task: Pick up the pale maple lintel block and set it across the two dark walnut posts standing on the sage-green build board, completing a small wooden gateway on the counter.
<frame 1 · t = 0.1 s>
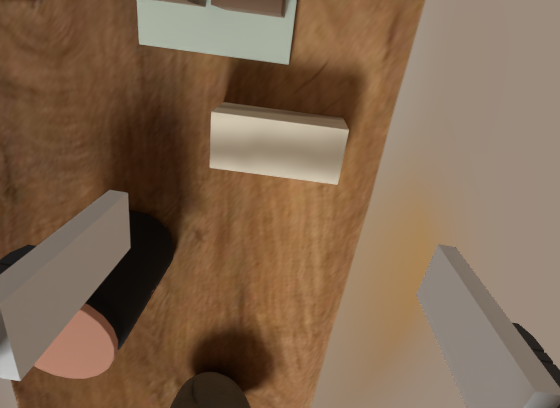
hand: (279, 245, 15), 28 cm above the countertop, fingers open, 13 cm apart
lintel: (280, 134, 41), on the countertop
coffee jar: (140, 240, 49), on the countertop
dark grey round piece: (221, 380, 61), on the countertop
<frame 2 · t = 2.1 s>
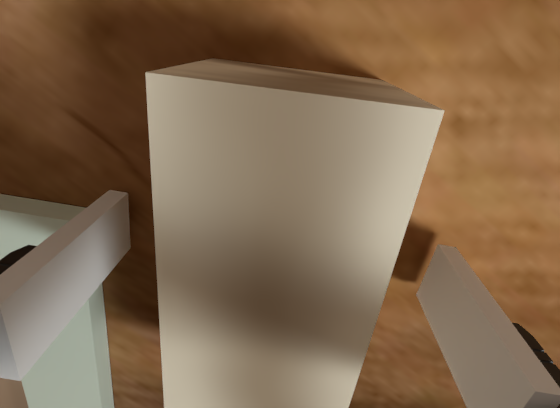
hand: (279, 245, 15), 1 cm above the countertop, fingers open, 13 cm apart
lintel: (276, 235, 15), on the countertop
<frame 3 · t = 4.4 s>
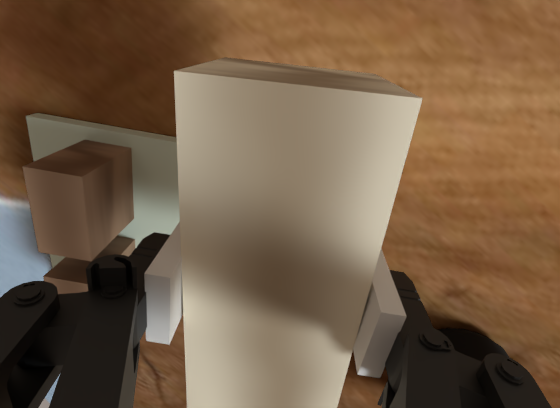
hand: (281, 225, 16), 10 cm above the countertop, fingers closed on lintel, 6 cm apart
lintel: (282, 218, 17), point 10 cm above the countertop, touching gripper
board: (121, 218, 29), on the countertop
post a: (116, 264, 30), point 1 cm above the countertop, touching board
coffee jar: (445, 361, 33), on the countertop
post b: (110, 180, 26), point 1 cm above the countertop, touching board
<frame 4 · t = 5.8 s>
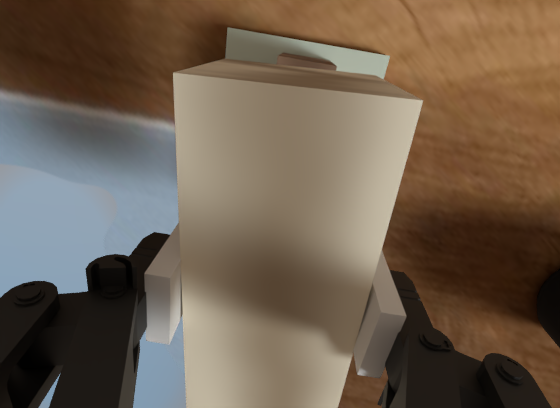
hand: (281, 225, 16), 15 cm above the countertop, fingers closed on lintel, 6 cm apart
lintel: (282, 220, 17), point 14 cm above the countertop, touching gripper
board: (290, 143, 29), on the countertop
post b: (299, 97, 26), point 1 cm above the countertop, touching board
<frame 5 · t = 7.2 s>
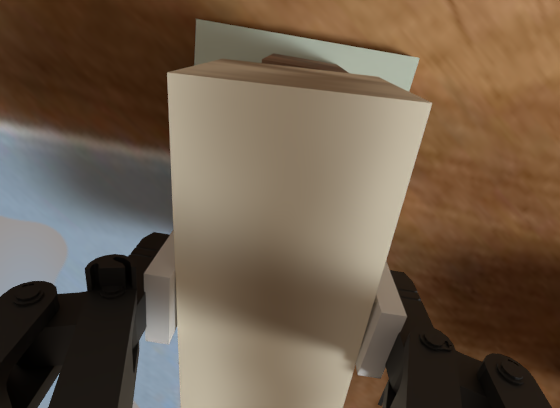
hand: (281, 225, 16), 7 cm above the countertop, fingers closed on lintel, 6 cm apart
lintel: (281, 225, 16), point 7 cm above the countertop, touching gripper, post a, post b
board: (285, 170, 23), on the countertop
post b: (295, 114, 20), point 1 cm above the countertop, touching board, lintel
when the fingers open (7 cm above the countertop, at t = 7.9 s): lintel stays where it is, resting on post a, post b.
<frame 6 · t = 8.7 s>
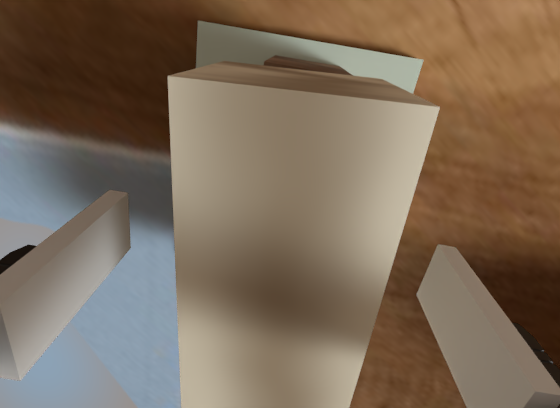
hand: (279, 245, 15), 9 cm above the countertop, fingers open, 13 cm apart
lintel: (283, 229, 16), point 7 cm above the countertop, touching post a, post b
board: (287, 173, 22), on the countertop
post b: (297, 116, 19), point 1 cm above the countertop, touching board, lintel
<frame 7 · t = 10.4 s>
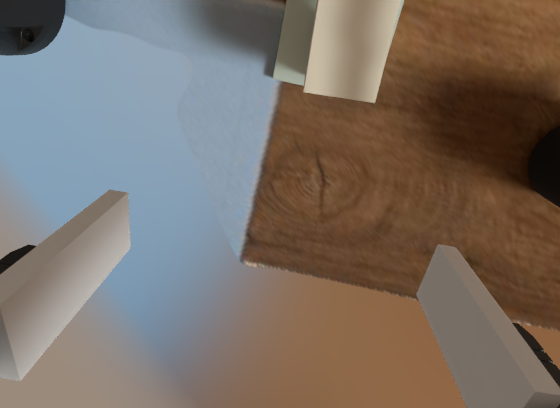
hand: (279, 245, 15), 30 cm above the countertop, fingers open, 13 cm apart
lintel: (349, 8, 31), point 7 cm above the countertop, touching post a, post b
board: (340, 13, 37), on the countertop
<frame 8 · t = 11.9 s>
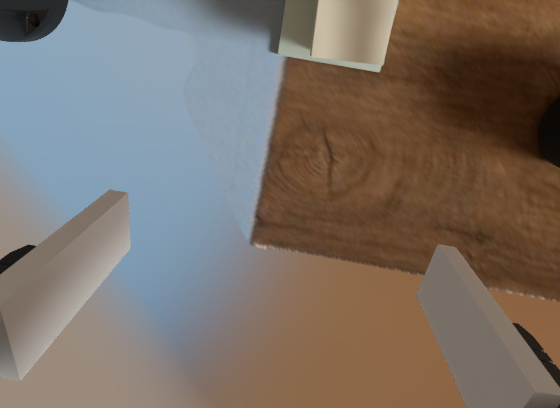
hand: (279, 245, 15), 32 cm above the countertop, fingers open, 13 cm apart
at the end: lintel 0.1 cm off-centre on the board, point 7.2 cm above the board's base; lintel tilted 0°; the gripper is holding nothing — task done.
